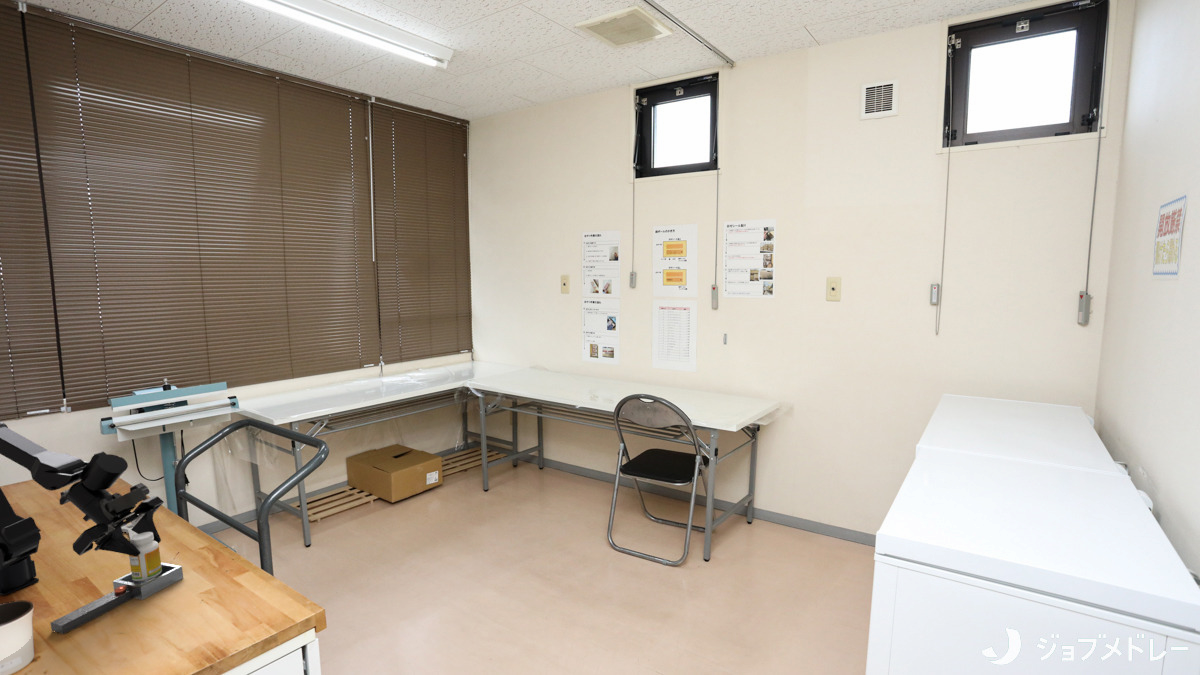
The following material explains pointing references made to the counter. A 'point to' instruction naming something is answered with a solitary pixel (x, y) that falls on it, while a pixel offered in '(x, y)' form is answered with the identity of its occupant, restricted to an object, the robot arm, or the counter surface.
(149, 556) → the supplement bottle
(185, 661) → the counter surface
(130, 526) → the adjustable wrench
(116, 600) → the grey rectangular scoop
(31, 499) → the counter surface
